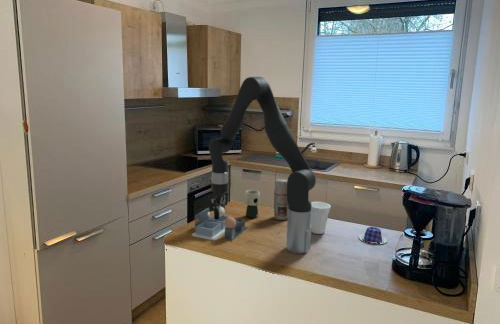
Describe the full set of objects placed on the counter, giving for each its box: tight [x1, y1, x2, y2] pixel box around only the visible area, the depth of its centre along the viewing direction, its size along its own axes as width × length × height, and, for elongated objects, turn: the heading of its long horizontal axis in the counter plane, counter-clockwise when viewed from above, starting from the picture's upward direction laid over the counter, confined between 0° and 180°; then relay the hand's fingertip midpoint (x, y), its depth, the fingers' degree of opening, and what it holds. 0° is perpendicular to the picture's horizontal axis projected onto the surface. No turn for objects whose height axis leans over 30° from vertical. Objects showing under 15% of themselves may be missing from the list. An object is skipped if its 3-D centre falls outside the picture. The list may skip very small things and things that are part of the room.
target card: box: [194, 207, 211, 233], centre depth 181 cm, size 1×13×8 cm, turn 157°
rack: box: [191, 215, 230, 241], centre depth 179 cm, size 11×20×4 cm, turn 157°
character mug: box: [244, 189, 261, 218], centre depth 197 cm, size 11×7×13 cm, turn 149°
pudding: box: [358, 226, 388, 245], centre depth 174 cm, size 12×12×5 cm
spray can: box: [273, 178, 288, 221], centre depth 196 cm, size 8×8×20 cm
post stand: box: [221, 218, 248, 242], centre depth 176 cm, size 5×16×5 cm, turn 157°
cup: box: [310, 201, 332, 235], centre depth 179 cm, size 10×10×13 cm
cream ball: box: [217, 206, 226, 217], centre depth 182 cm, size 5×5×5 cm
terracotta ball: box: [224, 216, 237, 229], centre depth 170 cm, size 5×5×5 cm
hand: (219, 216), depth 183 cm, fingers closed on cream ball, 4 cm apart
